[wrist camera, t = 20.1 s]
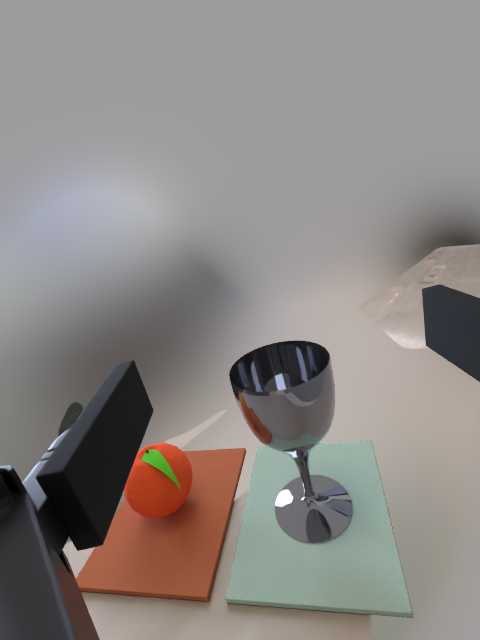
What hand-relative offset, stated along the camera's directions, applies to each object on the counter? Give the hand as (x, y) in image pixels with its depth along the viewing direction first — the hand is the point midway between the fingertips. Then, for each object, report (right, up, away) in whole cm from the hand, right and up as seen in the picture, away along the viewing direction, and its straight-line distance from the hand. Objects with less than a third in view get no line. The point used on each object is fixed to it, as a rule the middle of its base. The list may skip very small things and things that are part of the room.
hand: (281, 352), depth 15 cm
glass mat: (+5, -16, +16) cm, 23 cm away
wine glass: (+5, -16, +15) cm, 23 cm away
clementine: (-9, -18, +20) cm, 28 cm away
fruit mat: (-9, -19, +20) cm, 28 cm away
